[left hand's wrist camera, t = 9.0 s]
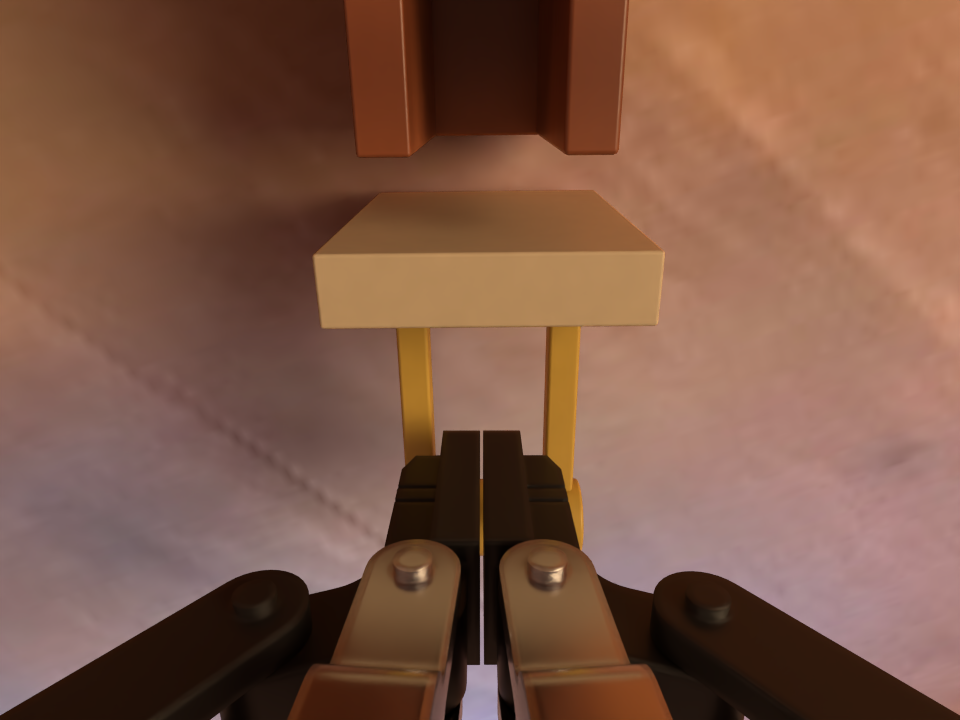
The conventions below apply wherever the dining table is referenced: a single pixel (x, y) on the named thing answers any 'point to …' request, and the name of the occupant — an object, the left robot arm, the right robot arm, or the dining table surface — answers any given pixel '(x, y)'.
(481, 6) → the drawer
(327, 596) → the left robot arm
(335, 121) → the dining table surface
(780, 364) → the dining table surface
